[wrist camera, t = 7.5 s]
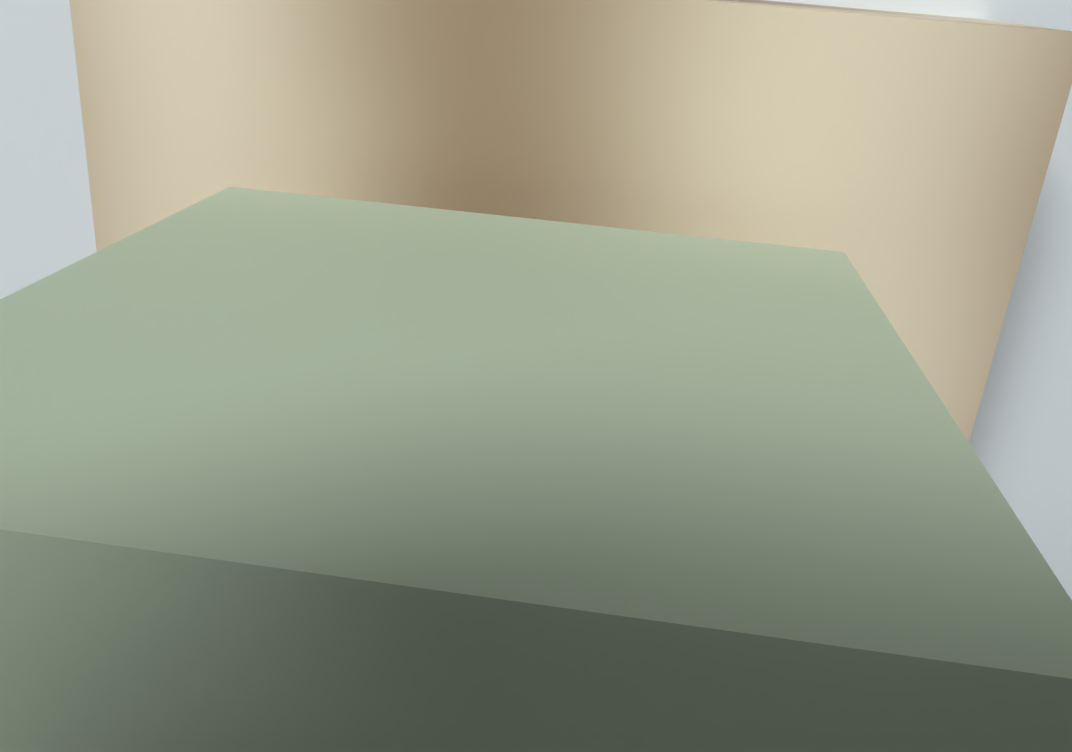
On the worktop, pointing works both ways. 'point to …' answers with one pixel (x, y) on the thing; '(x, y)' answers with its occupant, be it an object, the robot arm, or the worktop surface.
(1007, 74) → the birch plinth
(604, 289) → the sage cube
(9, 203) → the pale blue-grey board
